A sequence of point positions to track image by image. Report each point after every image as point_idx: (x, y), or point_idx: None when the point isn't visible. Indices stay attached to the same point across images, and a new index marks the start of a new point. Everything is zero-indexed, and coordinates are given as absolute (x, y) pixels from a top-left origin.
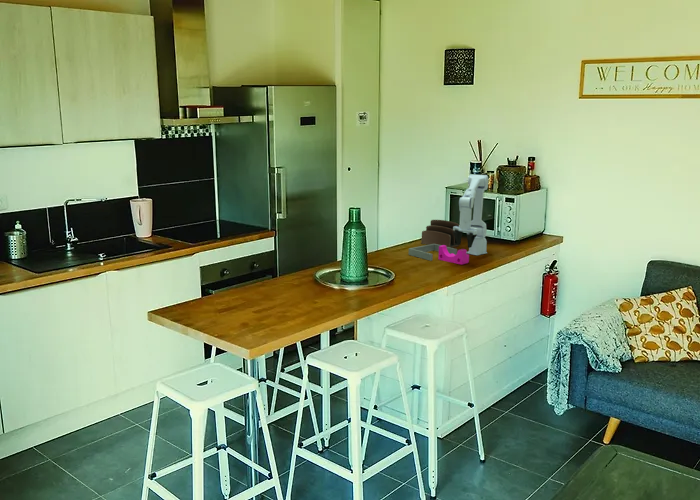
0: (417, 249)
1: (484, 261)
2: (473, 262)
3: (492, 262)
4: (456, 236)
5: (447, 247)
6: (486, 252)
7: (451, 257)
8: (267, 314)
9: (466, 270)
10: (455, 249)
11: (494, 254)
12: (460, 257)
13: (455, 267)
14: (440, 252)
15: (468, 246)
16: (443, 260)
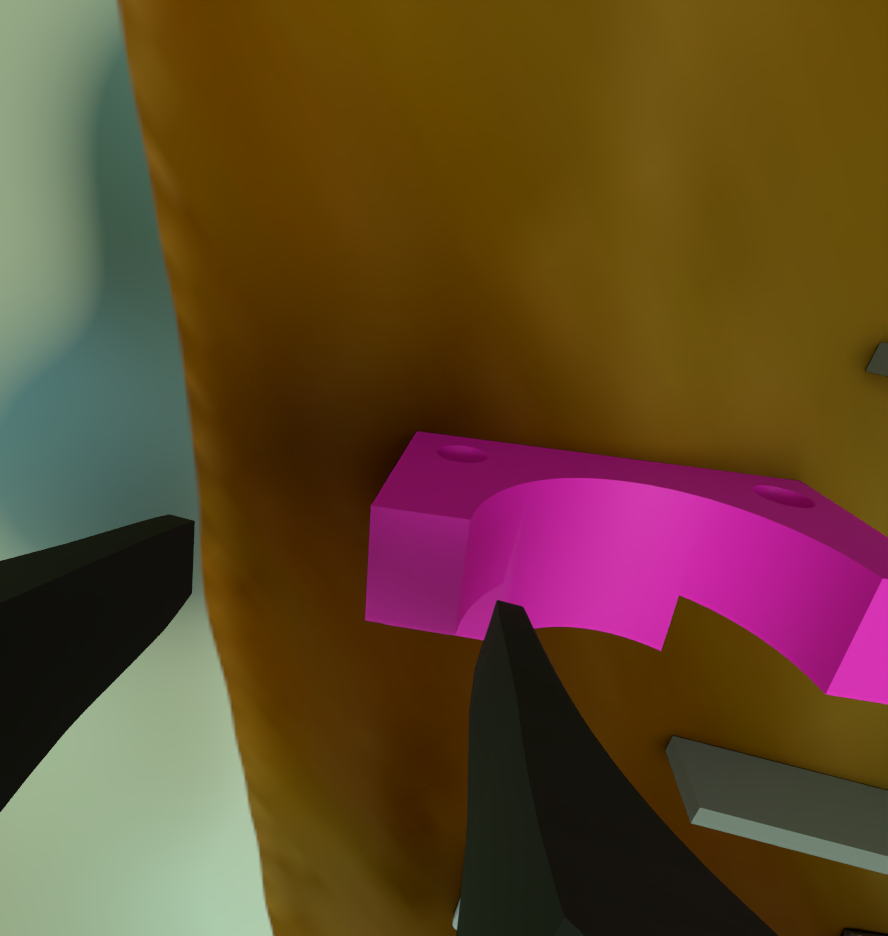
0: None
1: (311, 685)
2: None
3: (236, 690)
4: (532, 765)
5: (845, 844)
6: (455, 921)
7: (591, 477)
8: None
9: (200, 190)
10: (704, 807)
11: (388, 910)
12: (426, 464)
13: (397, 236)
14: (835, 525)
15: (151, 520)
16: (711, 470)
